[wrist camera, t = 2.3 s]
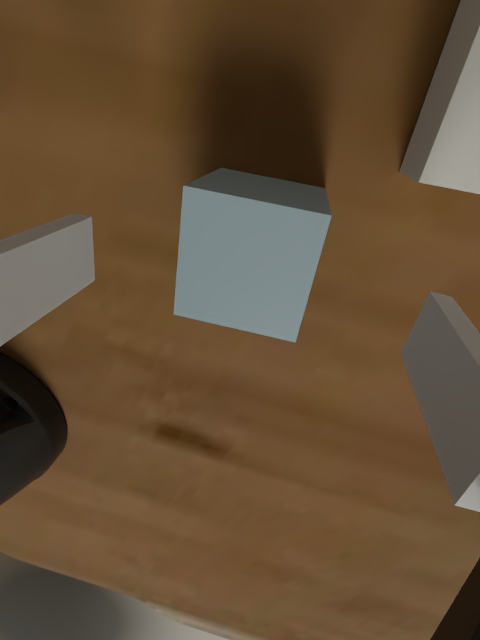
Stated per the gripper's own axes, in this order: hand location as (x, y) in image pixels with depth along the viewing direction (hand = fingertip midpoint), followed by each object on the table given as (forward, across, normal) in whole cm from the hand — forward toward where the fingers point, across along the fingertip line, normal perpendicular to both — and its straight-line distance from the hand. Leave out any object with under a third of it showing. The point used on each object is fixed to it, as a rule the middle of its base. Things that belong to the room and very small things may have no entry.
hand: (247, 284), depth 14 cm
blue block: (+9, -1, 0) cm, 9 cm away
